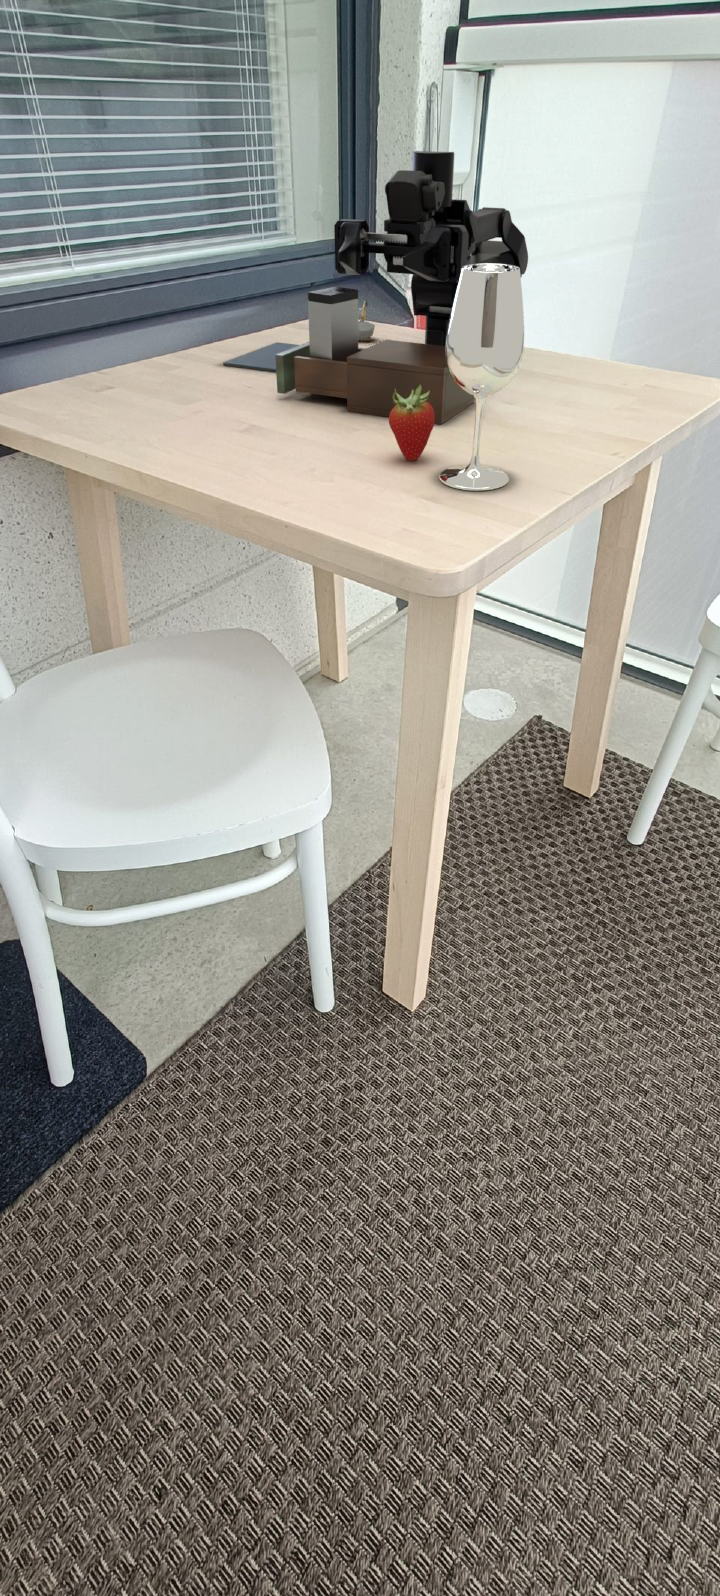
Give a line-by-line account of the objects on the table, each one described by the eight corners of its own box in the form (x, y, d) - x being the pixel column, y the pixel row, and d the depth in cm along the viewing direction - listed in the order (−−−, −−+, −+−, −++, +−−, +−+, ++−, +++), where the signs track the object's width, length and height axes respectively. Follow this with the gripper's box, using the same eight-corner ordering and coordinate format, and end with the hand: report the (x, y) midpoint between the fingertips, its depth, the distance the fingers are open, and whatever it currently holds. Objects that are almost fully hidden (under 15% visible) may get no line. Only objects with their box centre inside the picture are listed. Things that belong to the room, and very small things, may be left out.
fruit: (378, 461, 100) (379, 386, 95) (405, 449, 104) (407, 376, 99) (415, 470, 98) (418, 394, 93) (441, 457, 101) (445, 383, 96)
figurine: (376, 342, 148) (376, 302, 145) (350, 343, 148) (350, 303, 144) (372, 336, 153) (372, 297, 149) (347, 336, 152) (346, 297, 148)
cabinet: (347, 411, 116) (346, 357, 112) (385, 390, 124) (385, 339, 120) (441, 424, 111) (444, 368, 107) (474, 402, 119) (478, 349, 115)
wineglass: (423, 480, 95) (432, 268, 83) (467, 462, 100) (482, 259, 87) (481, 497, 91) (500, 277, 79) (523, 478, 96) (548, 267, 83)
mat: (276, 345, 147) (276, 342, 147) (350, 353, 142) (350, 350, 142) (223, 365, 136) (223, 362, 136) (300, 375, 131) (300, 372, 131)
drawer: (269, 391, 121) (267, 353, 118) (307, 375, 128) (306, 338, 125) (357, 404, 116) (357, 364, 113) (391, 386, 123) (392, 348, 120)
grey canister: (337, 375, 123) (335, 286, 116) (358, 380, 121) (358, 289, 114) (310, 383, 120) (307, 292, 113) (332, 388, 118) (330, 295, 111)
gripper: (361, 170, 120) (305, 179, 109) (489, 174, 113) (442, 184, 103) (362, 264, 127) (308, 281, 116) (482, 273, 120) (437, 292, 110)
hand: (371, 259), depth 111 cm, fingers open, 9 cm apart
